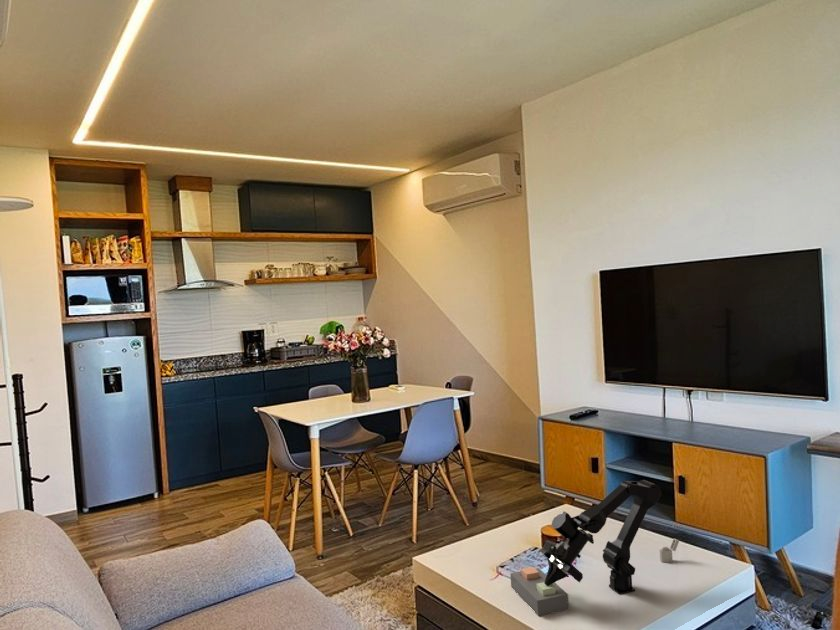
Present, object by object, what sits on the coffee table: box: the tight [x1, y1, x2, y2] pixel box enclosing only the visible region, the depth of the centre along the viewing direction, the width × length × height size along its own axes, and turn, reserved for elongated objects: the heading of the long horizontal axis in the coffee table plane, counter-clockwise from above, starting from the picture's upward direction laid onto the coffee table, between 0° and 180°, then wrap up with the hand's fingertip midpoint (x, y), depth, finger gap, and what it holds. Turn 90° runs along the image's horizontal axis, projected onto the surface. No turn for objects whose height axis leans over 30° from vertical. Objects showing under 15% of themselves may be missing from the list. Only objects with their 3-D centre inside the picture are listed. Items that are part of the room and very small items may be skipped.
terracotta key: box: [520, 566, 539, 581], centre depth 209 cm, size 5×5×6 cm
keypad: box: [509, 567, 570, 617], centre depth 203 cm, size 11×21×5 cm, turn 15°
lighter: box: [659, 538, 680, 563], centre depth 225 cm, size 7×2×8 cm, turn 96°
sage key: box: [536, 582, 556, 596], centre depth 197 cm, size 5×5×6 cm
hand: (545, 584), depth 197 cm, fingers closed, pressing on sage key
